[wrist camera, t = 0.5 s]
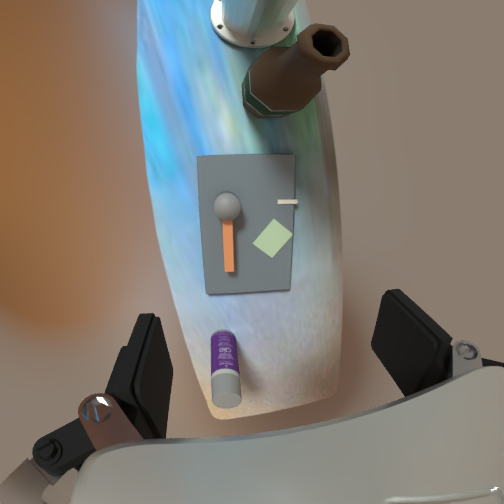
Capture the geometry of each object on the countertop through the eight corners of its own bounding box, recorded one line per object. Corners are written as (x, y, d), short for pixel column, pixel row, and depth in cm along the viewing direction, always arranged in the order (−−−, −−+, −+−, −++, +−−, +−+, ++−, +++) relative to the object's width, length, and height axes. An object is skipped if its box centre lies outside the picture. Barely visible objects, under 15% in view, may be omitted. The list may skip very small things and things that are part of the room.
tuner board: (197, 156, 37) (196, 156, 36) (296, 154, 39) (298, 155, 38) (206, 290, 46) (206, 294, 45) (290, 285, 47) (292, 289, 46)
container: (230, 326, 49) (236, 388, 36) (238, 343, 51) (246, 404, 38) (206, 333, 50) (206, 396, 36) (216, 350, 51) (218, 411, 38)
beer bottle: (301, 108, 36) (396, 81, 14) (254, 128, 37) (303, 112, 15) (278, 64, 33) (346, -9, 11) (230, 83, 34) (246, 12, 12)
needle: (213, 191, 38) (213, 195, 36) (238, 190, 39) (240, 194, 36) (217, 267, 43) (217, 275, 40) (240, 266, 43) (241, 274, 41)
